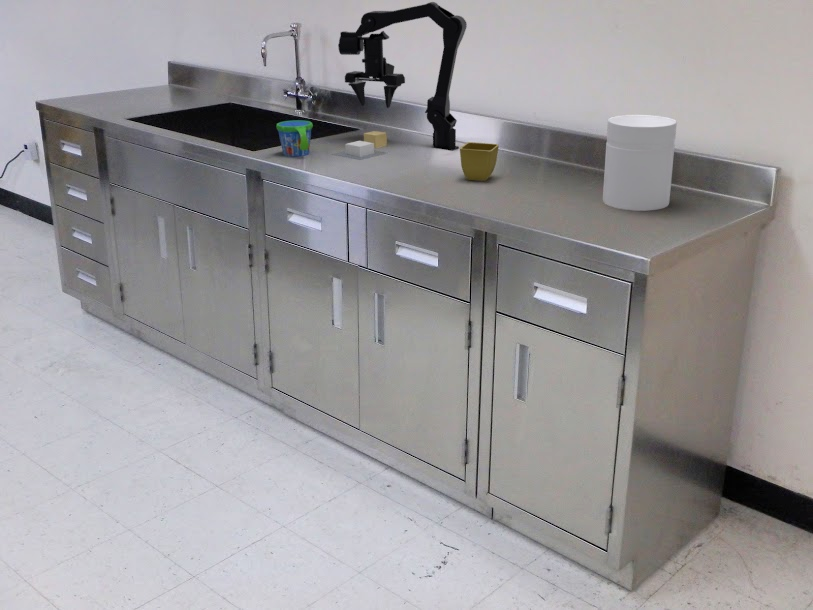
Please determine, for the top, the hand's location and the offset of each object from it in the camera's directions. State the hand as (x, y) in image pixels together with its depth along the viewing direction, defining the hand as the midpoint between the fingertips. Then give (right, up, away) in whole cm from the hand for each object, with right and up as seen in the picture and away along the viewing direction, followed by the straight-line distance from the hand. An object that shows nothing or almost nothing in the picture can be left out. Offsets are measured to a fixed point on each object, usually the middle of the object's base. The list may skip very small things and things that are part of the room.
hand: (375, 106), depth 292 cm
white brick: (-4, -16, -10) cm, 19 cm away
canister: (+66, -36, -59) cm, 96 cm away
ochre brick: (0, -13, +1) cm, 13 cm away
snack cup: (-24, -17, -8) cm, 30 cm away
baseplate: (-4, -17, -9) cm, 20 cm away
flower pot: (+29, -27, -36) cm, 54 cm away
